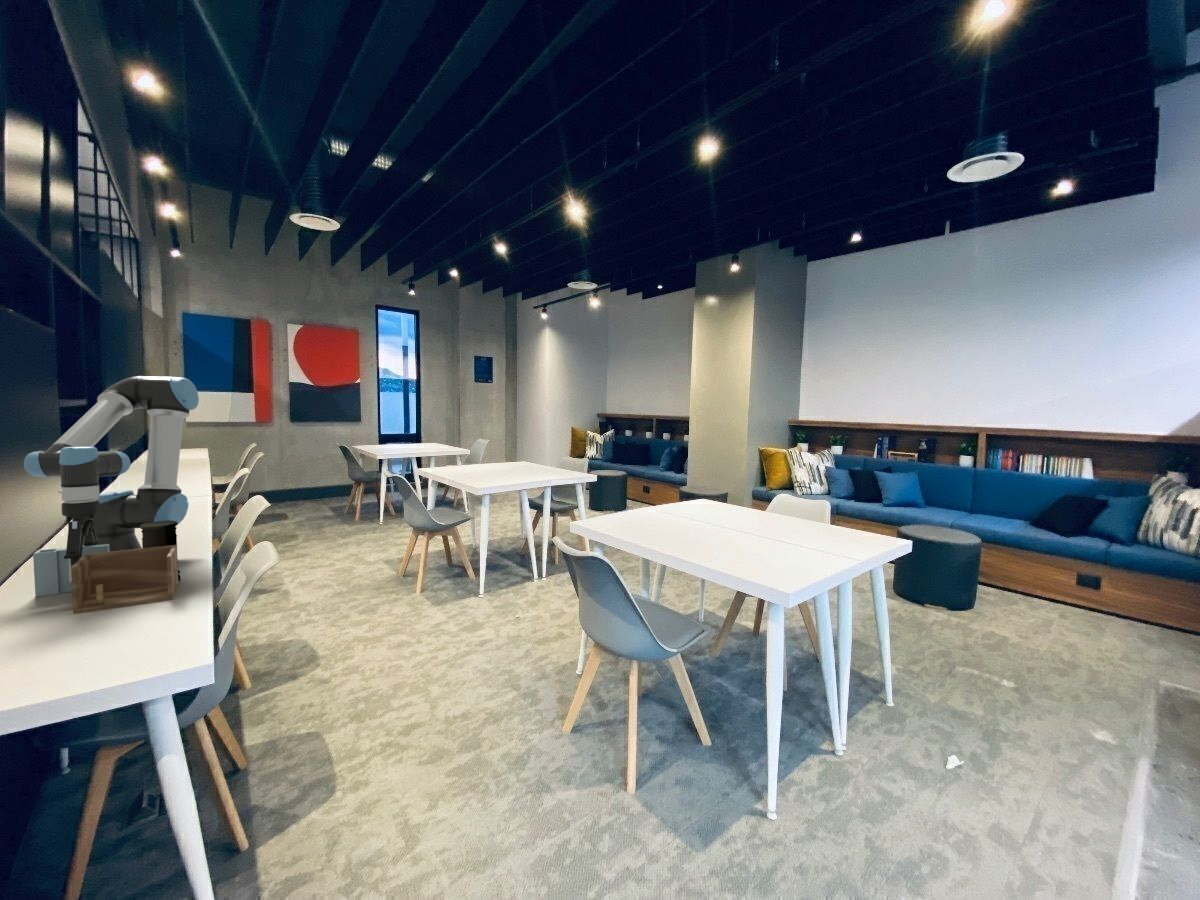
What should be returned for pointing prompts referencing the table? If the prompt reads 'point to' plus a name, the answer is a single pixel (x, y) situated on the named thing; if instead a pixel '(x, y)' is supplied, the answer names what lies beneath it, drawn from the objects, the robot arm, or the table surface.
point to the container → (159, 535)
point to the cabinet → (124, 578)
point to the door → (56, 569)
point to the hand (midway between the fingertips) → (83, 574)
